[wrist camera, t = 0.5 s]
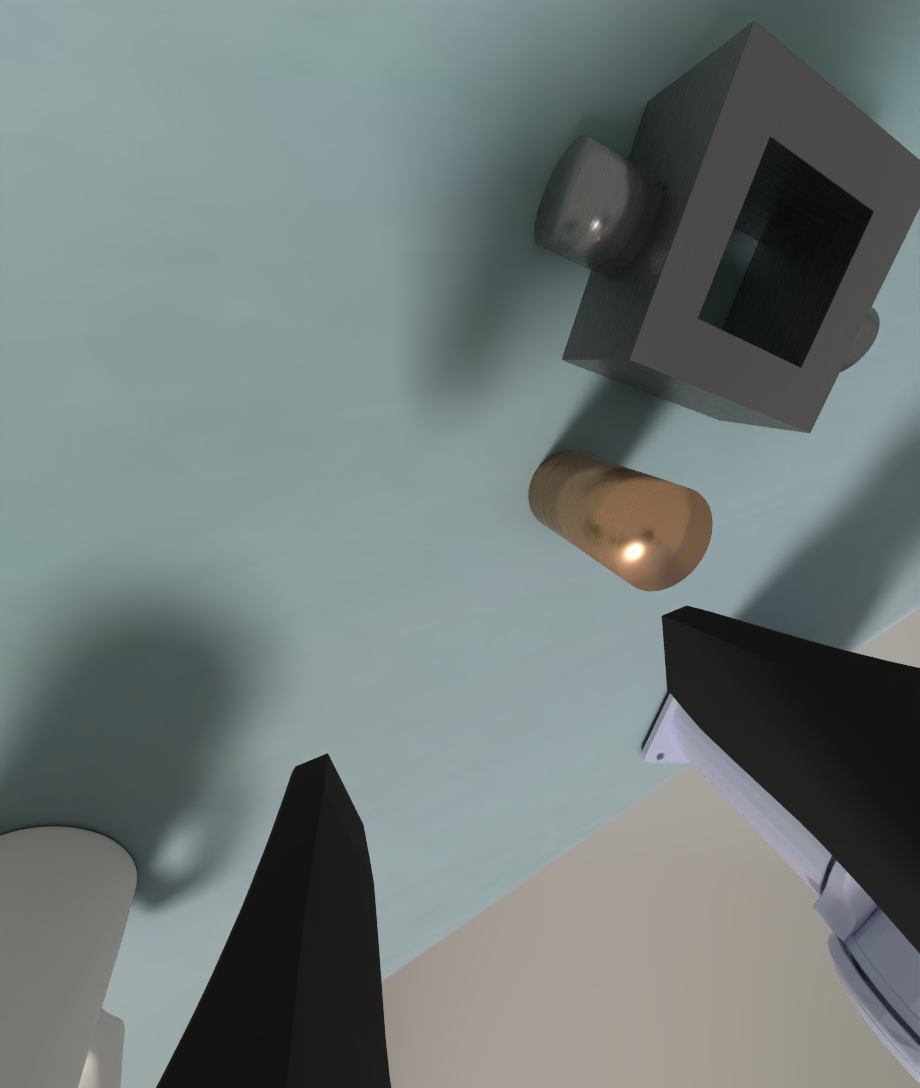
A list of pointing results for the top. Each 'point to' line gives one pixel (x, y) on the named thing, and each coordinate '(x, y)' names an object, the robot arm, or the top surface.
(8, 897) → the mug
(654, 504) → the tapered valve plug
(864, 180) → the valve body
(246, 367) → the top surface
